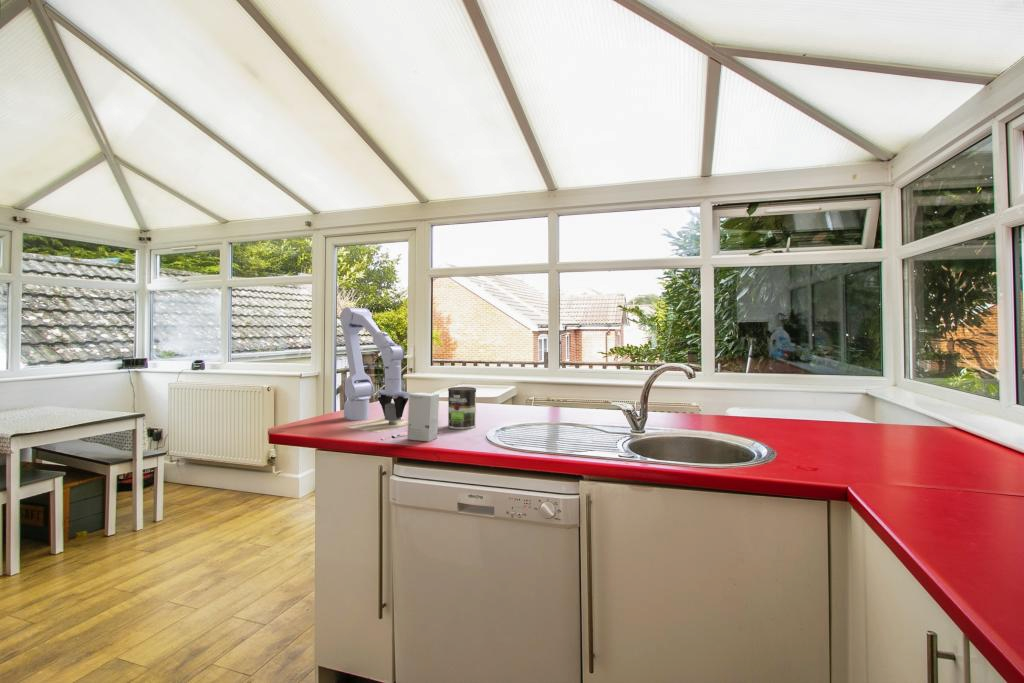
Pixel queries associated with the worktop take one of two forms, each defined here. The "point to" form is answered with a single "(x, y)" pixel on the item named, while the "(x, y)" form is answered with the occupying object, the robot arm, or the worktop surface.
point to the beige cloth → (377, 425)
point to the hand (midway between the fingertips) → (393, 416)
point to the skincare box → (423, 416)
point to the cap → (390, 412)
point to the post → (393, 422)
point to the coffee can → (462, 407)
